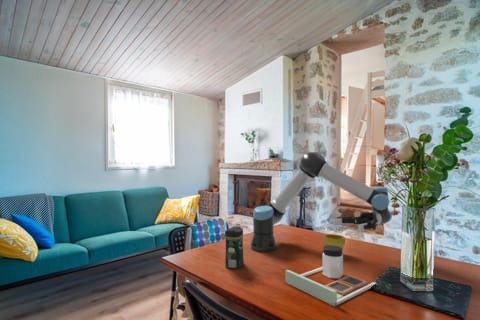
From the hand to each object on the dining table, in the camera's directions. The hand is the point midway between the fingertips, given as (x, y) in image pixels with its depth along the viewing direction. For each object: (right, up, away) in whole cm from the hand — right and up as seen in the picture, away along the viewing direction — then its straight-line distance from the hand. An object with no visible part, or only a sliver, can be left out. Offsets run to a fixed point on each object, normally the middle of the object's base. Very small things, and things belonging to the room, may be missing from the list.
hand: (345, 225), depth 132 cm
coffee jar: (-52, -21, +6) cm, 56 cm away
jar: (-8, -21, -6) cm, 23 cm away
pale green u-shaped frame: (-12, -21, -15) cm, 28 cm away
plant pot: (+2, -21, +20) cm, 29 cm away
